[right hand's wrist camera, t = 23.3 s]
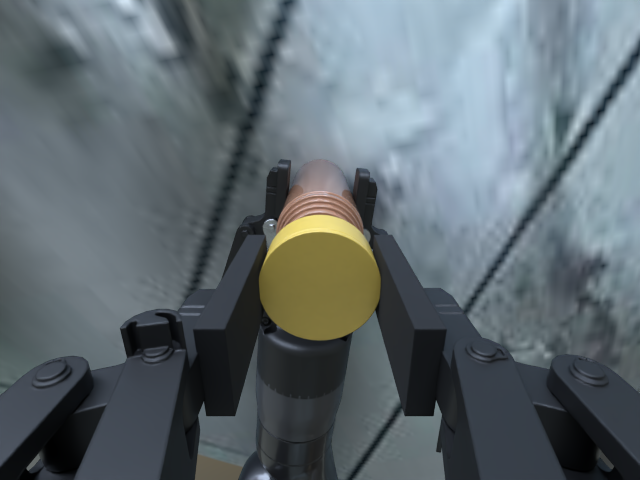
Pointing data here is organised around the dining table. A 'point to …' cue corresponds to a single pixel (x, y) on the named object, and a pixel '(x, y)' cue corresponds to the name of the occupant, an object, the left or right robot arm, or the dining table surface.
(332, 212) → the bottle
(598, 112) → the dining table surface
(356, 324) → the cap
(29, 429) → the right robot arm
